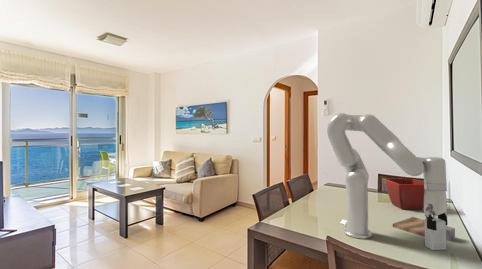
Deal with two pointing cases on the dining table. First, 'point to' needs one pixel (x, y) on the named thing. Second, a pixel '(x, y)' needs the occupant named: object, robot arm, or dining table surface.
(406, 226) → the walnut board
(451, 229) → the graphite block
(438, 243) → the skincare box
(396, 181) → the plant pot
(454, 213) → the dining table surface
